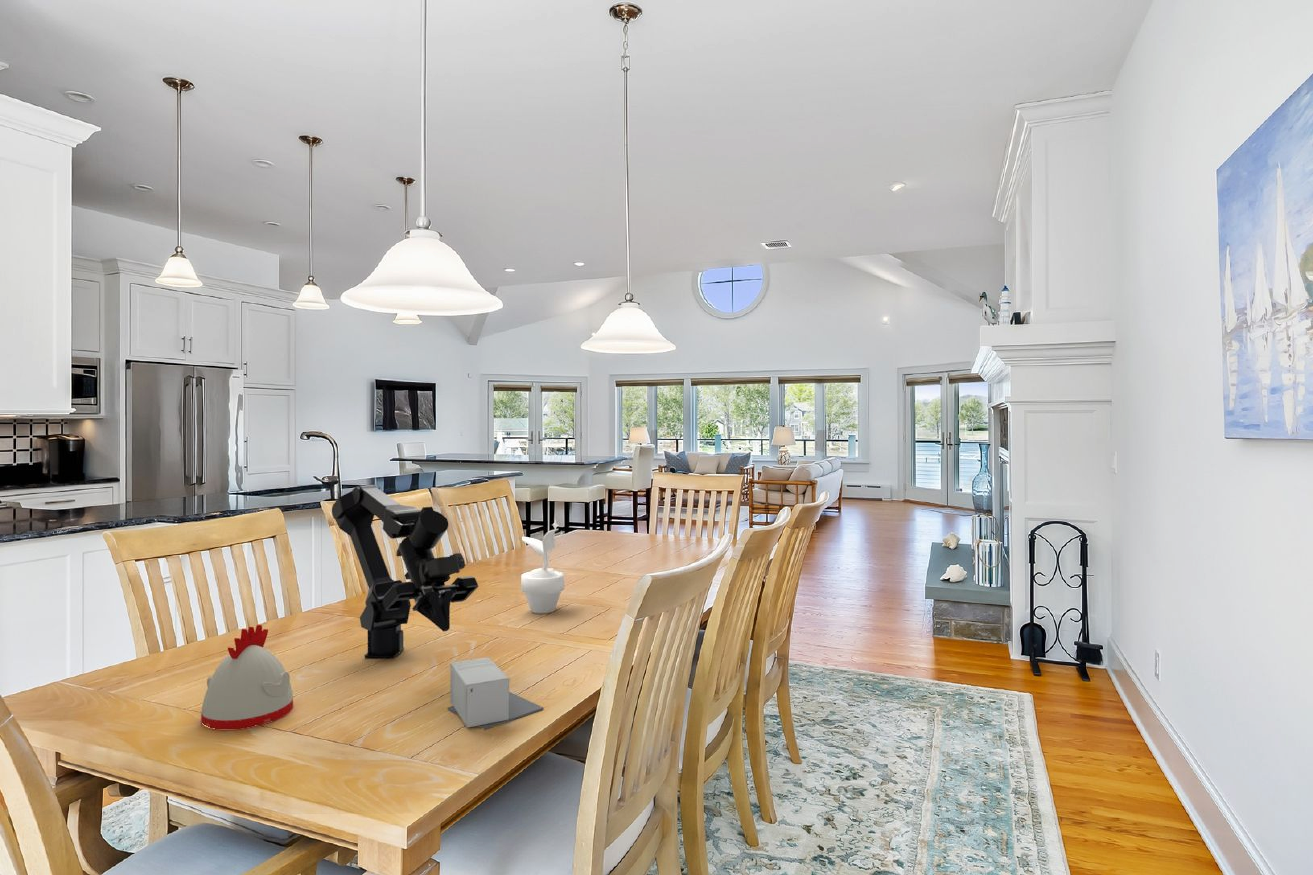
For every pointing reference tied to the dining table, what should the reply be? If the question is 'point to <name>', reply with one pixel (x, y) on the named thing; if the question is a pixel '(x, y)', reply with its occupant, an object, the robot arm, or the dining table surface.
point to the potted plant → (543, 577)
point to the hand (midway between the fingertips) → (446, 630)
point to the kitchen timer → (247, 686)
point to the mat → (512, 709)
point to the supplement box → (479, 691)
